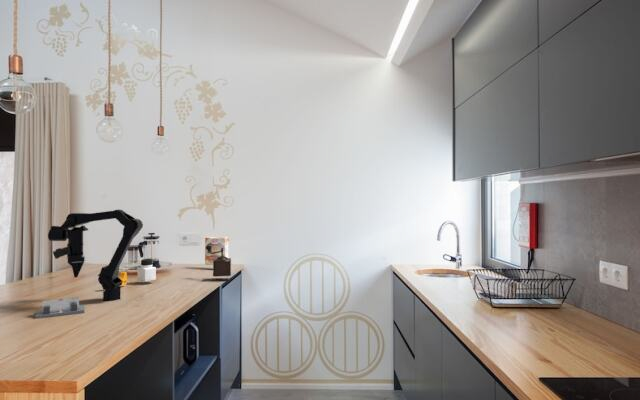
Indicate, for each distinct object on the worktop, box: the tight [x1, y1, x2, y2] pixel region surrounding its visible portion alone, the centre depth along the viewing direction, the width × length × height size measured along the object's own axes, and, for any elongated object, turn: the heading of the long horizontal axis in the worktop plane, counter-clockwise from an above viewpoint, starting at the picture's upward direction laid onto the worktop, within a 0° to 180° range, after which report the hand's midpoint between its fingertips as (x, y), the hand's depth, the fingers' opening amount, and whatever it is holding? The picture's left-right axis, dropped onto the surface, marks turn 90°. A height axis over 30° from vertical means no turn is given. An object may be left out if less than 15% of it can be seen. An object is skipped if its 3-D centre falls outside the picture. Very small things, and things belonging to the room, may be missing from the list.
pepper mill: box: [206, 245, 232, 278], centre depth 240 cm, size 16×11×18 cm
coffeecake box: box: [204, 236, 230, 266], centre depth 280 cm, size 15×7×20 cm, turn 81°
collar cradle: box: [34, 304, 85, 320], centre depth 157 cm, size 16×10×4 cm, turn 121°
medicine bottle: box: [137, 258, 157, 283], centre depth 224 cm, size 7×7×12 cm
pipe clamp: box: [118, 271, 128, 287], centre depth 208 cm, size 12×4×6 cm, turn 176°
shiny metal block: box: [41, 296, 80, 312], centre depth 157 cm, size 12×4×4 cm, turn 127°
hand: (75, 275), depth 177 cm, fingers open, 9 cm apart
